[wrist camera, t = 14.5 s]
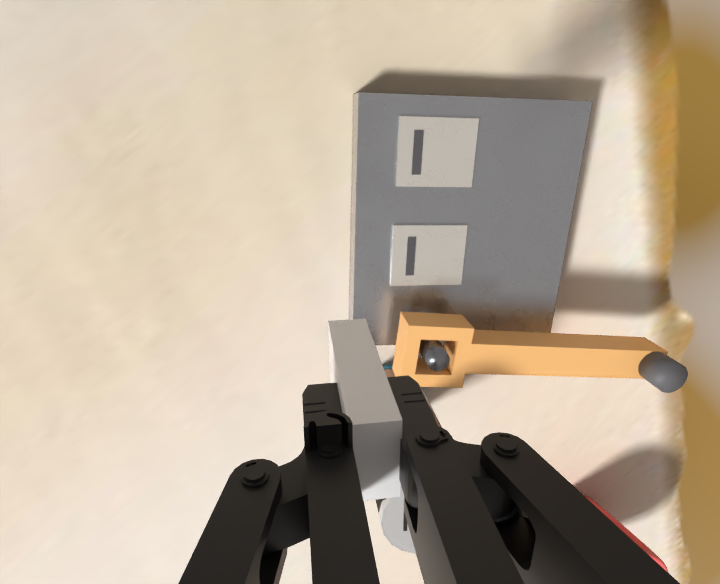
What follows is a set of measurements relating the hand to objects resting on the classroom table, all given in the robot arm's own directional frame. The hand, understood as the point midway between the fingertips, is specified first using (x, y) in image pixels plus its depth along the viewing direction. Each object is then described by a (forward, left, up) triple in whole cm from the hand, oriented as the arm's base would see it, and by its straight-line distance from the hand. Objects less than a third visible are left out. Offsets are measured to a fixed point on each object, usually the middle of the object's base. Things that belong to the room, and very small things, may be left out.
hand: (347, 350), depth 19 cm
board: (-1, +12, -22) cm, 25 cm away
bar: (+9, +17, -17) cm, 26 cm away
